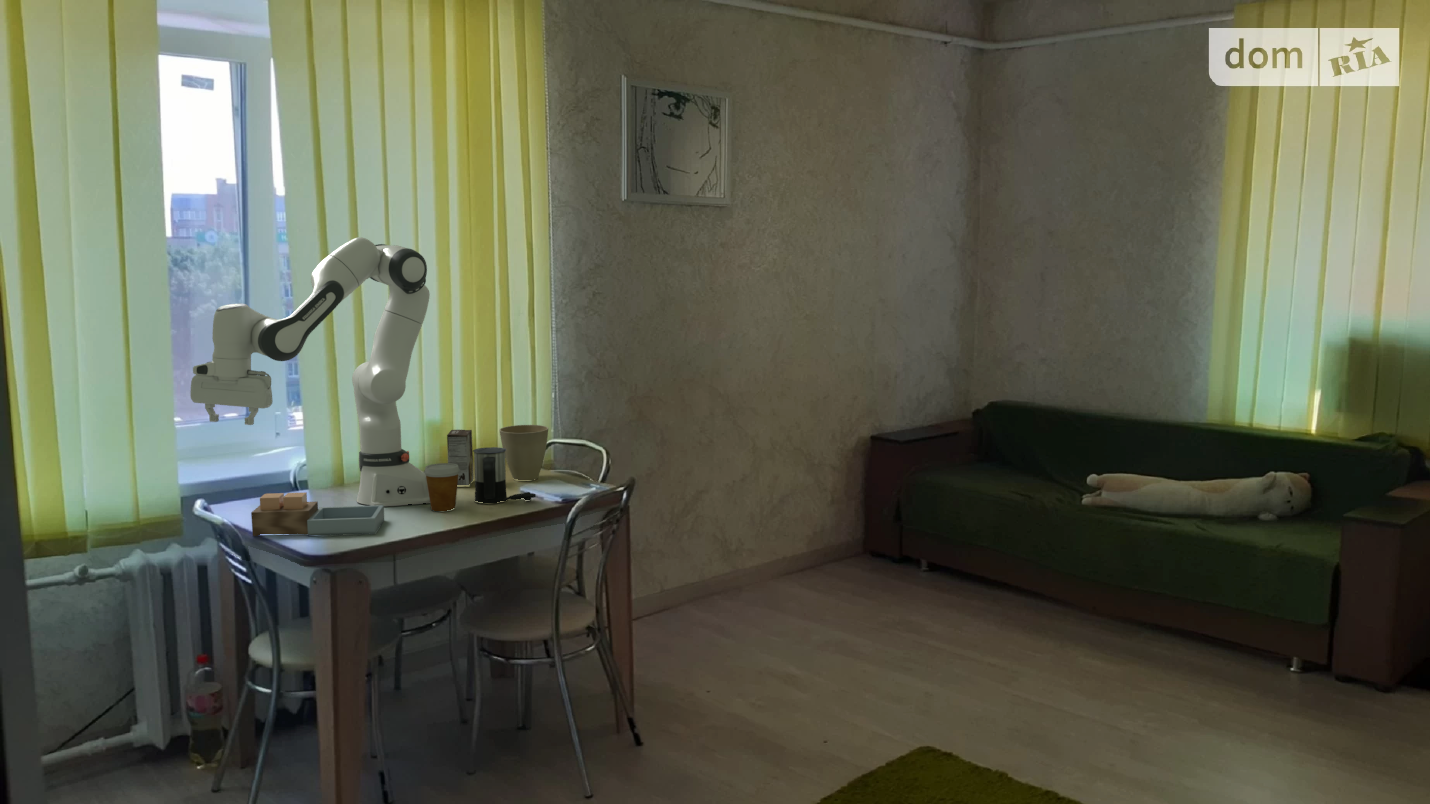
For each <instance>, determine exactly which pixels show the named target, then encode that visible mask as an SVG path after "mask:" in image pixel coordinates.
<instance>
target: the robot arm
mask: <svg viewBox="0 0 1430 804" xmlns="http://www.w3.org/2000/svg"><path fill="white" fill-rule="evenodd" d="M427 273H428V266H427V261H426V259H425V258H424V256H423V255H422V254H420V253H419V252H418V251H417V250H414V249H412V248H409V247H404V246H401V245H395V244H393V245H392V244H391V245H390V244H389V245H388V244H384V243H381V244H374V242H372V240H370V239H367V238H365V237H361V236H360V237H359V236H358V237H355V238H352V239H350V240H348V241H347V242H345V243H344V244H342V245H340V246H339V247H338V248H336V249H334V250H333V251H332V252H330V253H329V254H328V255H327V256H326V257H324V258H323V259H322V260H321V261H320V262H319V263H318V264H317V266H316V267H315V268H314V269H313V271H312V272H311V276H310V280H311V281H310V283H311V286H312V288H313V289H312V293H311V294H310V295H309V297H308V298H307V299H306V300H305V301H304V302H303V303H302V304H301V305H299V306H298V308H297V309H295V310H294V311H293V313H291V314H290V315H288V316H287V317H285V318H280V319H277V318H273V317H271V316H268V315H266V314H263V313H260V312H258V311H256V309H253V308H251V307H250V306H249V305H247V304H246V303H232V304H231V303H230V304H225V305H221V306H219V307H218V308H217V309H216V310H215V312H214V315H213V321H212V322H213V323H212V342H213V352H212V359H211V361H207V362H205V363H201V364H197V365H194V366H193V367H192V373H193V374H194V375H193V377H192V378H191V381H190V392H189V394H190V400H191V401H192V402H193V403H194V404H195V403H196V404H204V409H205V411H206V412H207V414H208V415H209V422H210V423H211V422H212V423H217V422H219V419H220V418H219V417H220V415H219V413H216V411H215V409H214V408H215V407H216V406H219V405H220V406H229V407H230V406H231V407H242V408H248V412H250V413H249V415H248V416H247V417H244V425H246V426H252V425H253V426H254V424H255V417H256V416H257V415H258V413H259V409H268V408H270V407H271V406H272V404H273V391H272V377H271V375H270V374H269V373H268V372H266V371H263V370H252V354H253V353H257V354H260V355H262V356H265V357H268V358H270V359H271V360H274V361H277V362H287V361H290V360H292V359H294V358H295V357H297V356H298V355H299V353H300V352H301V351H302V349H303V348H304V346H305V344H306V341H307V339H308V337H309V335H310V334H312V333H313V331H314V330H316V329H317V327H318V326H319V325H320V324H321V323H322V322H323V321H324V320H325V319H326V318H327V317H328V316H329V315H330V314H332V312H333V311H334V310H335V309H336V308H337V307H338V305H339V304H341V302H343V301H344V300H345V299H346V298H347V297H348V296H349V295H350V294H352V293H354V291H356V289H358V288H359V287H360V286H361V285H362V284H363V283H364V282H365V281H366V280H368V279H371V280H373V281H375V282H376V283H377V282H378V283H382V284H384V285H387V286H388V291H389V293H388V294H389V296H388V300H387V302H386V304H385V305H384V306H385V307H384V309H383V311H382V314H381V316H380V320H379V322H378V325H377V327H376V330H375V333H374V335H373V342H372V349H371V354H370V358H369V360H367V361H365V362H363V363H361V364H359V365H358V366H357V367H356V368H355V370H354V371H353V373H352V379H351V380H352V386H353V393H354V401H355V407H356V412H357V413H356V414H357V419H358V427H359V444H360V445H359V446H360V450H359V452H358V469H359V472H360V477H359V480H360V481H359V488H358V493H357V497H356V498H357V499H356V502H357V503H358V504H362V505H365V506H376V505H384V508H385V507H396V506H399V507H400V506H409V505H408V504H412V505H423V503H426V504H430V498H429V492H428V486H427V480H426V475H425V473H424V471H422V470H421V469H420V468H418V467H416V466H415V465H414V464H413V463H411V462H410V451H409V450H404V449H403V448H402V431H401V428H402V427H401V425H402V424H401V420H400V416H399V412H398V408H397V407H398V406H397V401H399V400H400V399H401V398H402V397H403V396H404V393H405V391H406V387H407V385H406V384H407V383H406V381H407V377H408V374H409V369H410V364H411V359H412V355H413V351H414V348H415V345H416V342H417V339H418V337H419V334H420V332H421V329H422V326H423V323H424V321H425V318H426V314H427V311H428V306H429V302H430V297H431V296H430V294H431V293H430V290H429V288H428V287H427V286H426V282H427V279H426V278H427Z"/></svg>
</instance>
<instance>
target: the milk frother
mask: <svg viewBox="0 0 1430 804" xmlns="http://www.w3.org/2000/svg"><path fill="white" fill-rule="evenodd" d="M472 450H473V455H474V456H473V458H474V459H473V465H474V491H475V492H474V500H475V501H478V502H483V503H497V502H500V501H506V500H507V501H508V500H510V501H515V500H516V499H519V500H522V499H521V498H524V499H525V500H530V499H531V500H532V499H533V498H536V497H537V496H536V493H533V492H532V493H531V492H530V491H526V492H523V493H516V494H512V495H509V496H507V475H506V471H507V470H506V458H505V451H506V449H505V448H503V447H498V446H497V447H495V446H493V447H480V448H479V447H478V448H475V449H472ZM524 499H523V500H524ZM525 500H524V501H525ZM475 501H474V502H475ZM507 501H506V502H507Z"/></svg>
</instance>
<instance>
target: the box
mask: <svg viewBox="0 0 1430 804" xmlns="http://www.w3.org/2000/svg"><path fill="white" fill-rule="evenodd" d="M384 521H385V507H384V505H376V506H371V505H352V506H351V505H349V506H348V505H347V506H322V507H321V506H320V507H318V510H317V511H316V512H315V513H314V514H313V515H312V516H311V517H310V518H309V519H308V520H307V526H308V534H307V536H308V535H333V536H344V535H343V534H361V535H376V534H377V532H378V531H379V529H380V528H381V526H382V524H383V523H384ZM379 527H380V528H379ZM375 533H376V534H375Z"/></svg>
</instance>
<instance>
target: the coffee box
mask: <svg viewBox="0 0 1430 804" xmlns="http://www.w3.org/2000/svg"><path fill="white" fill-rule="evenodd" d="M446 442H447V443H446V445H447V447H446V448H447V463H452V464H457V465H458V467H459V469H460V472H459V474H458V484H457V485H469V484H471V482H472V481H473V479H474V480H475V477H474V459H473V458H474V456H473V455H474V452H473V450H474V449H473V431H472V429H451V430H450V431H449V432H448V433H447V434H446ZM473 482H474V481H473ZM473 482H472V483H473ZM471 485H472V484H471Z"/></svg>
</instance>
